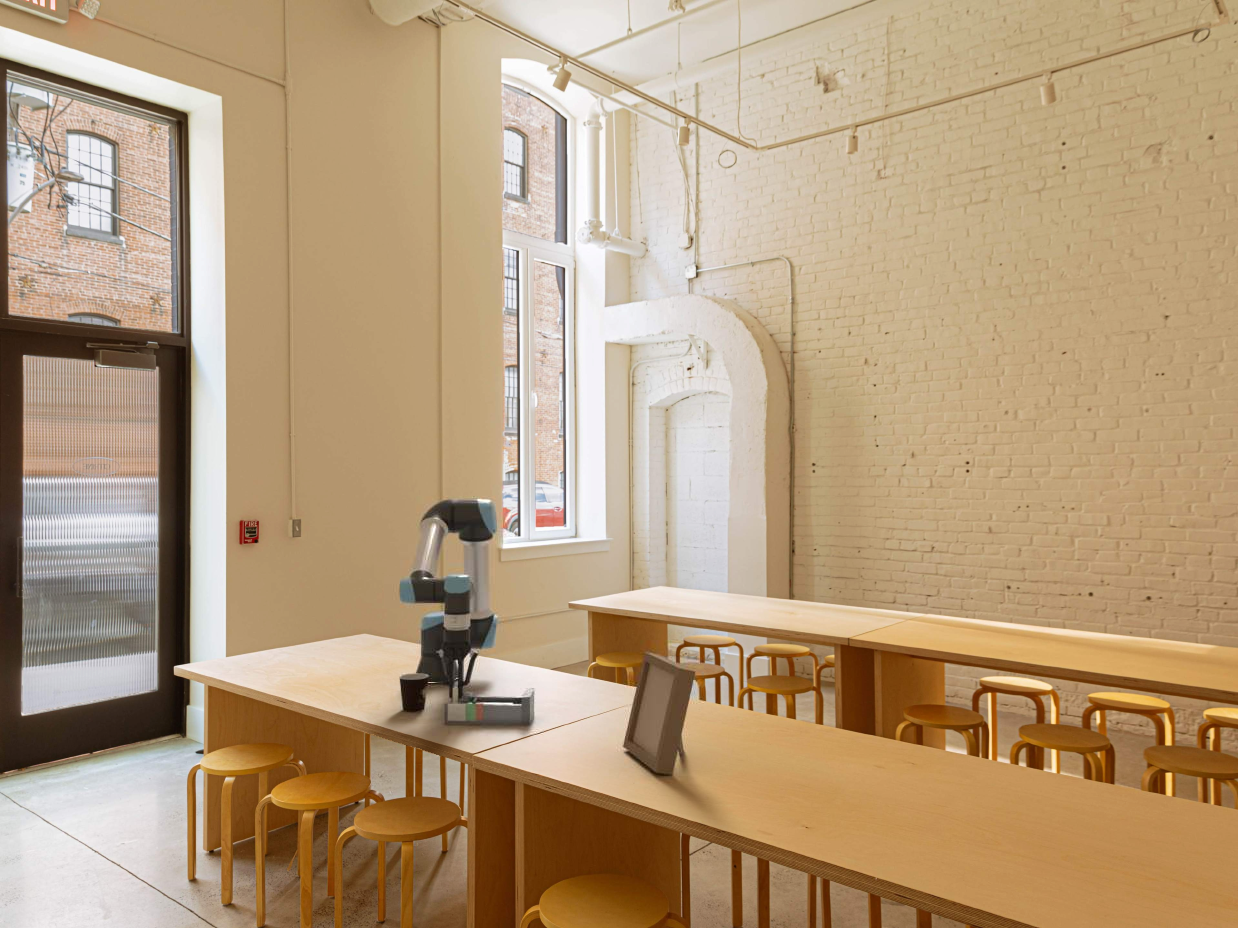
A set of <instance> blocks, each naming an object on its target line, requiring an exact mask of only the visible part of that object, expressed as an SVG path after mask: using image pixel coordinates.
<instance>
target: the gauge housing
mask: <svg viewBox="0 0 1238 928" xmlns="http://www.w3.org/2000/svg"><path fill="white" fill-rule="evenodd" d="M475 698H478V703H475V704H472V703H462V698H460V703H453V698H450V700H451V701H450V702H449V701H448V703H445V704H444V713H443V714H444V717H443V719H444V721H443V723H444V724H443V726H444V725H447V726H449V725H450V726H453V725H454V726H455V725H456V726H457V725H458V726H519V725H526V726H527V725H529V726H531V724H532V722H533V719H534V716H535V688H534V687H533V688H532V687H527V688H525V690H524V692H523V693H522V695H521V696H518V695H516V696H514V695H508V696H507V695H506V696H505V695H501V696H499V695H498V696H497V695H473V700H474V699H475ZM484 703H513V704H484ZM531 721H532V722H531ZM526 726H525V727H526ZM529 726H528V727H529Z"/></svg>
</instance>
